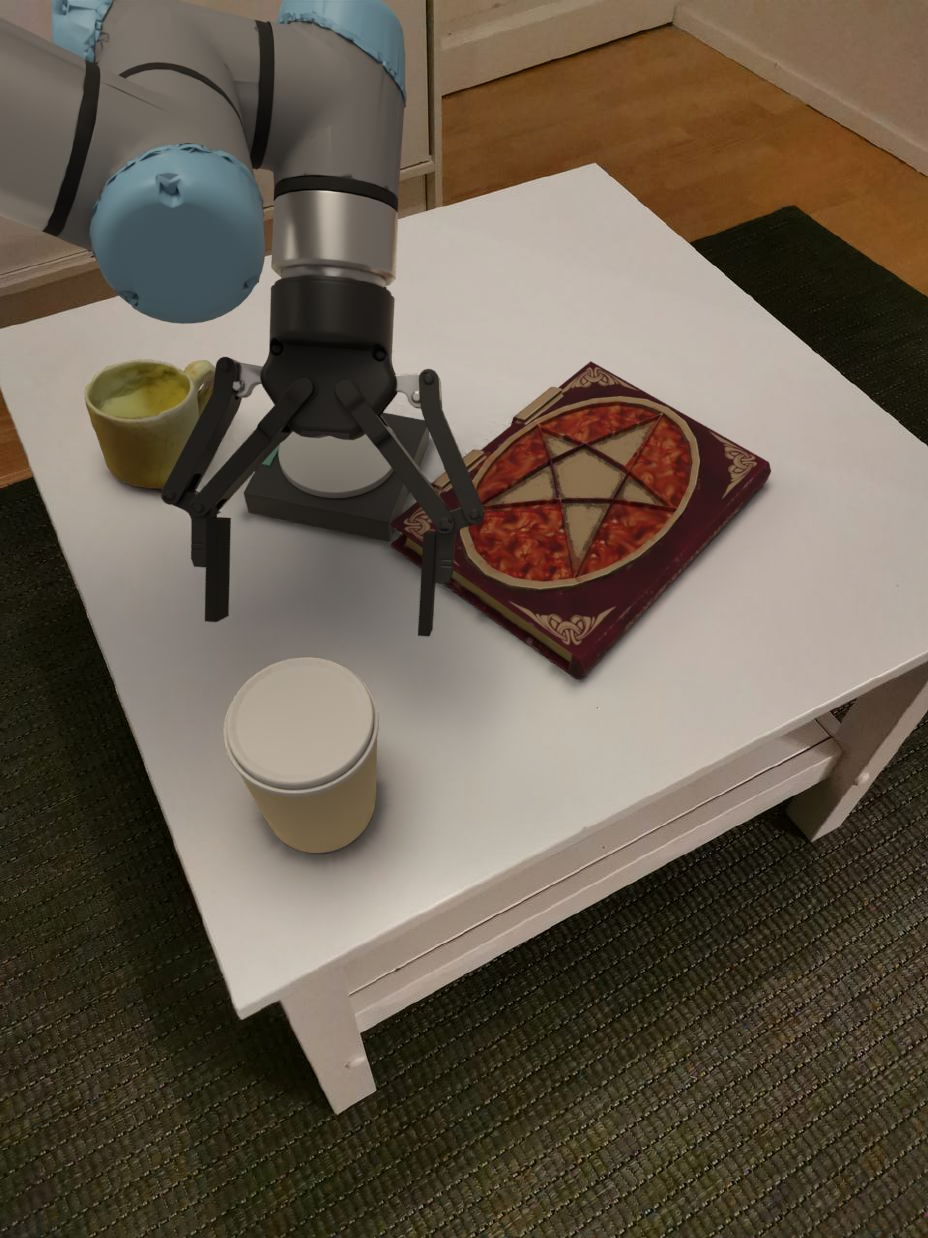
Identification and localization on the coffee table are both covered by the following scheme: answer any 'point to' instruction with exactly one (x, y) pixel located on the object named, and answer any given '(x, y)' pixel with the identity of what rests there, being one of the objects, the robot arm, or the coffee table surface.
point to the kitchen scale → (336, 481)
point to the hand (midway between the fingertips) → (320, 626)
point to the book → (587, 513)
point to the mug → (146, 415)
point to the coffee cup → (307, 750)
